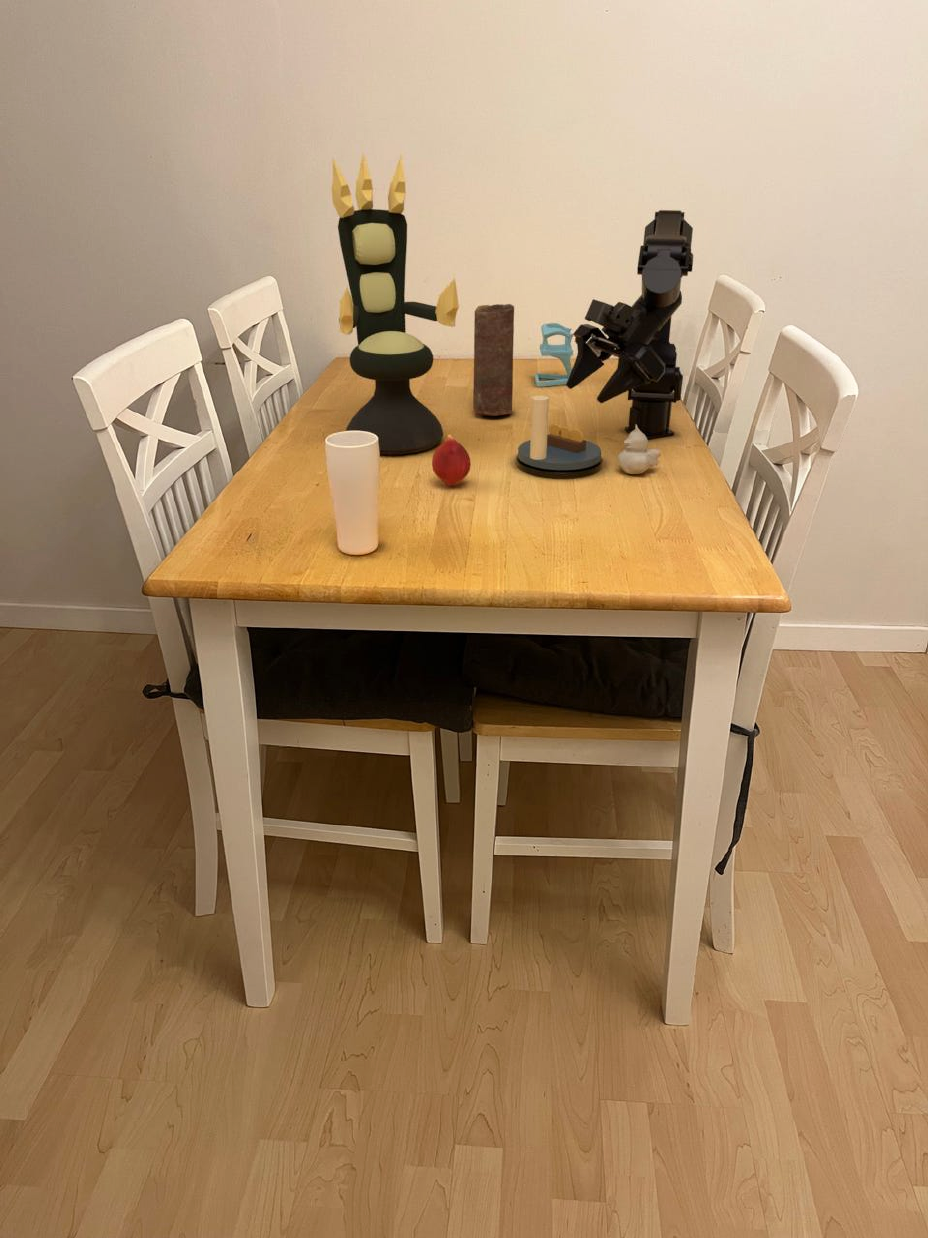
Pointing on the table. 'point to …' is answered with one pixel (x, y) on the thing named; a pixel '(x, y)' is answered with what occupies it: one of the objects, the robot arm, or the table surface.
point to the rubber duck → (637, 454)
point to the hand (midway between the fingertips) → (583, 393)
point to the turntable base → (558, 471)
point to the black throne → (385, 314)
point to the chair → (556, 353)
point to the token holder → (555, 443)
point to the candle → (493, 359)
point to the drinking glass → (354, 489)
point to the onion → (451, 462)
